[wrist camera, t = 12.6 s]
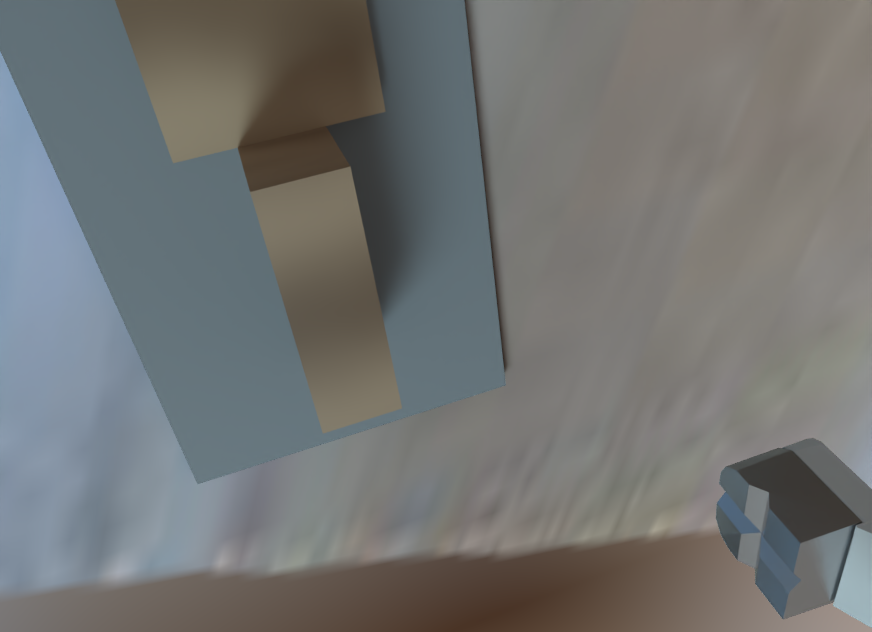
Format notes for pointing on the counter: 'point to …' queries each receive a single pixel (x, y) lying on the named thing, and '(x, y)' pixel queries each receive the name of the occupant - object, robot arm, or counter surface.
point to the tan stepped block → (284, 162)
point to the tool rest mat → (242, 236)
